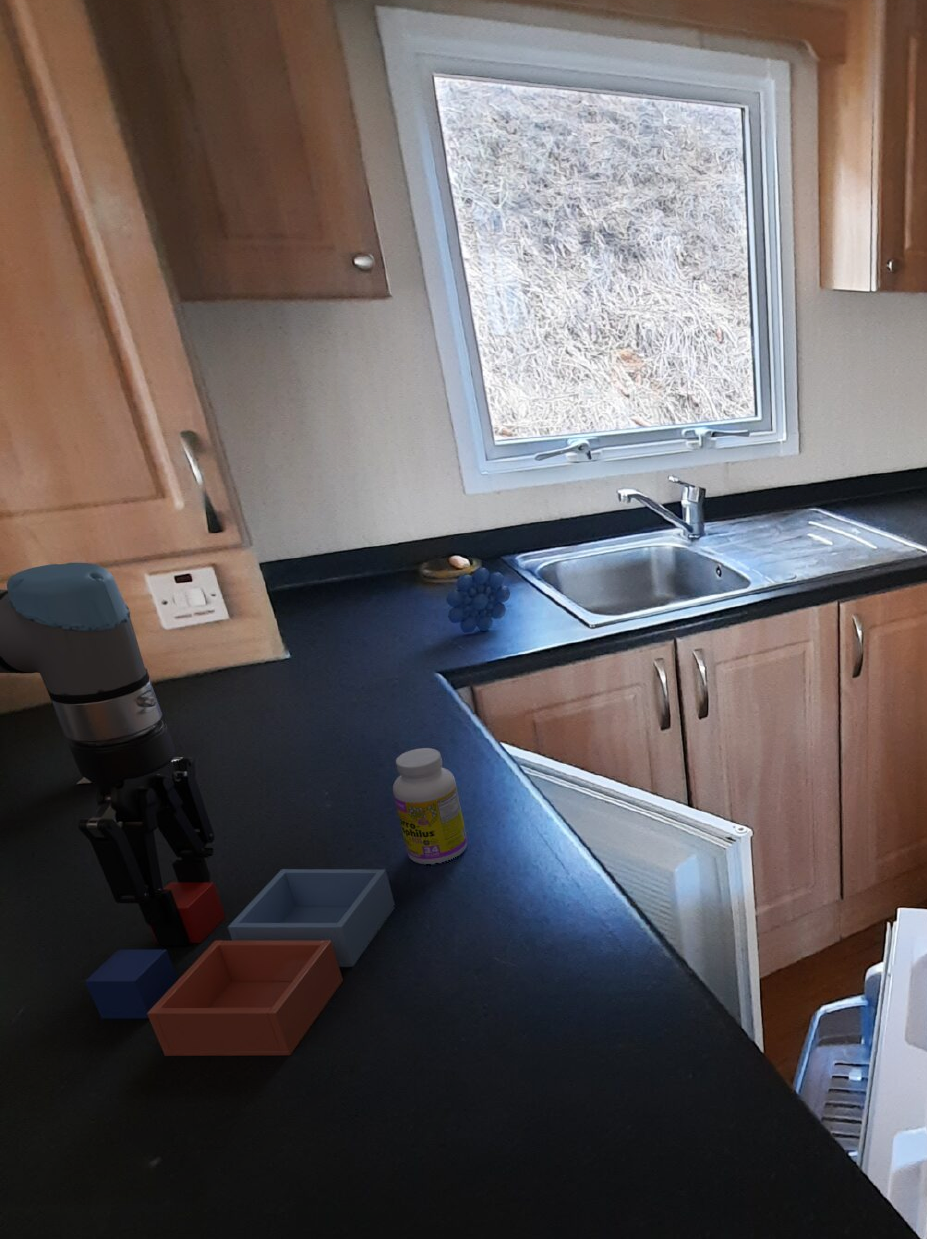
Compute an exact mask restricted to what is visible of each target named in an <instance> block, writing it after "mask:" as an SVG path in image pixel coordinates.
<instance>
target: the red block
mask: <svg viewBox="0 0 927 1239" xmlns="http://www.w3.org/2000/svg"><path fill="white" fill-rule="evenodd" d="M163 889H164V890H171V891H172V894H173V897H174V899H175V902H176V905H177V907H178V910H179V913H180V915H181V918H182V921H183V923H184V926H185V929H186V932H187V934H188V937H189V940H190V942H189V943H188V944H201V943H202V942H203V941H204V940H205V939H206V938H207V937H208V936H209V935H210V934H211V933H212V932H213V931H215V929H216V928H217V927H218V926H219V924H220V923H221V922H222V921H223V920H225V918H226V917H227V916H226V914H225V910H224V908H223V905H222V902H221V899H220V896H219V894H218V891H217V887H216V885H215V883H214V882H210V883H209V882H178V881H177V882H176V881H175V882H173V881H172V882H171V881H170V882H169V883H168V884H167V885H165V887H163ZM148 926H149V929H150V930H151V933H152V936H153V939H154V941H155V943H156V944H158V943H157V940H156V938H155V935H154V933H153V930H152V927H151V925H148Z"/></svg>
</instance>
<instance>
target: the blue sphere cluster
mask: <svg viewBox="0 0 927 1239" xmlns="http://www.w3.org/2000/svg"><path fill="white" fill-rule="evenodd" d="M504 580H505V579H504V576H503V574H502V573H500V572H499V571H498V572H497V571H496V572H492V573H491V574H490V572H489V570H488V569H487V568H486V567H477V568H476V569H475V570H474V571H473V572H472V576H471V575H470V574H462V575H460V576H458V578H457V580H456V584H455V586H456V588H457V589H453V590H450V591H449V593H448V594H447V595H446V596H447V597H446V603H447V604H448V606H450V607H452V608H450V609H449V611H448V614H447V615H448V616H447V617H448V620H449V621H450V622H451V623H453V624H458V623H459V628H460V629H461V632H464V633H471V632H473V631H474V630H475V629H476V628H477V629H478V630H480V631H481V632H482V631H488V630H489V629H490V628H491V627H492V626H493V623H494V620H499V619H502V618H503V617H504V616H505V615H506V613H507V612H506V611H507V608H506V605H505V604H504V603H506V602H507V601H508V600H509V599H510V597H511V591H510V589H509V587H508V586H506V585H503V584H504ZM493 619H494V620H493Z"/></svg>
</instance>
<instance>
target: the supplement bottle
mask: <svg viewBox="0 0 927 1239" xmlns="http://www.w3.org/2000/svg"><path fill="white" fill-rule="evenodd" d="M395 765H396V770H397V772H398V773H399V775H398V777H397V778H396V779H395V780H394V783H393V785H392V793H393V798H394V802H395V805H396V810H397V814H398V819H399V823H400V828H401V832H402V836H403V840H404V845H405V849H406V852H407V855H408V858H409V859H410V860H411V861H412V862H414V863H417V864H419V865H420V864H421V865H426V864H431V865H436V864H435V863H439V864H443V863H442V862H444V863H446V862H445V861H447V862H449V861H448V860H450V861H452V860H454V859H456V858H458V857H460V856H461V855H462V854H463V853H464V852H465V850H466V849H467V847H468V836H467V832H466V831H467V830H466V826H465V821H464V817H463V811H462V807H461V803H460V798H459V793H458V787H457V783H456V778H455V776H454V774H453V773H452V772H451V771H450V770H449V769H447V768H445V767H443V760H442V755H441V752H440V751H439V750H437V749H434V748H430V747H421V748H414V749H411V750H408V751H405V752H403V753H401V754H400V755H399V756H398V757H396V759H395ZM457 856H458V857H457ZM455 857H456V858H455ZM453 858H454V859H453ZM451 859H452V860H451ZM439 864H438V865H439ZM431 865H430V866H431Z"/></svg>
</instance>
